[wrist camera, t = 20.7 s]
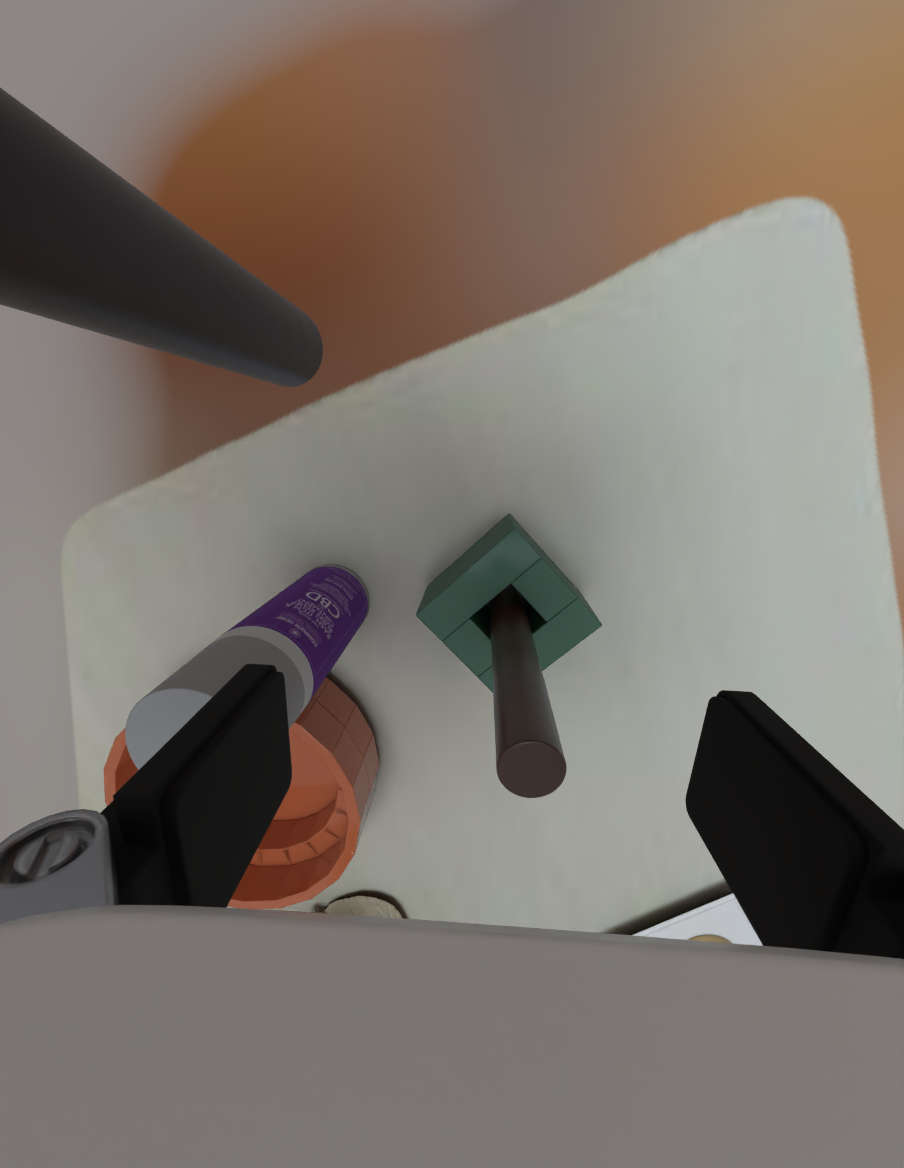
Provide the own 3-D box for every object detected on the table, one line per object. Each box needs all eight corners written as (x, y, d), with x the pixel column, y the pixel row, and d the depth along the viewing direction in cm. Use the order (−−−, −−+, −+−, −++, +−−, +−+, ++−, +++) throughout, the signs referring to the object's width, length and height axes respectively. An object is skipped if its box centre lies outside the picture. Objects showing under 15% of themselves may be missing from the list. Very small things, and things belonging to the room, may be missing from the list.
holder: (426, 586, 29) (415, 615, 24) (509, 512, 27) (515, 527, 22) (498, 661, 30) (502, 702, 25) (582, 594, 28) (602, 625, 23)
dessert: (742, 872, 33) (784, 939, 29) (812, 973, 36) (860, 1050, 31) (597, 933, 36) (614, 1004, 32) (671, 1024, 39) (697, 1102, 34)
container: (375, 573, 29) (267, 703, 14) (363, 640, 30) (254, 820, 16) (302, 556, 29) (120, 670, 14) (293, 624, 30) (120, 789, 16)
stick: (482, 594, 29) (482, 767, 13) (506, 573, 28) (535, 727, 13) (503, 616, 29) (527, 810, 14) (528, 596, 28) (581, 773, 13)
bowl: (128, 737, 33) (55, 798, 28) (261, 605, 30) (208, 643, 24) (285, 865, 36) (248, 944, 30) (425, 758, 32) (413, 826, 27)
